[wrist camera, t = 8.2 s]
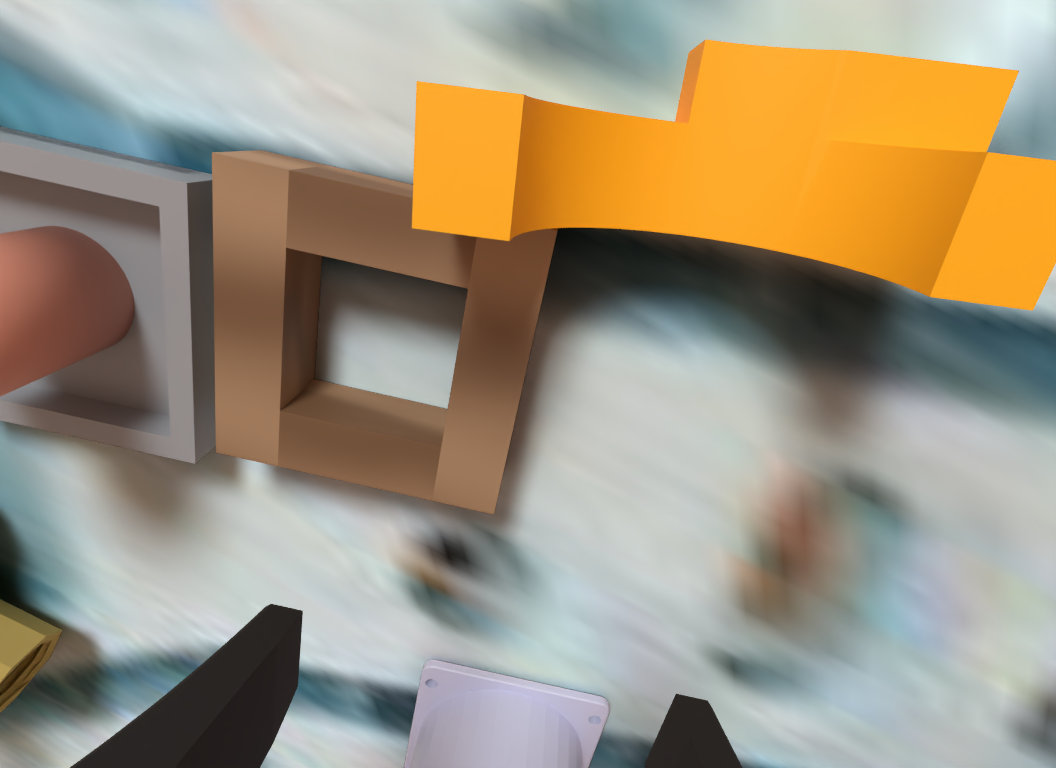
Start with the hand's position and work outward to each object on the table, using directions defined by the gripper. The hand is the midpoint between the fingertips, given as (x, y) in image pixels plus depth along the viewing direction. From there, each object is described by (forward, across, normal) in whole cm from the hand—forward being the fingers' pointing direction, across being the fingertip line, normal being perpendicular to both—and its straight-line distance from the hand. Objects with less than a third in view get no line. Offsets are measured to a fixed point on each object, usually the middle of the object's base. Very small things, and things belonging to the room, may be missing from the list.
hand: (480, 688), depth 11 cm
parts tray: (+10, +15, -2) cm, 18 cm away
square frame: (+10, +5, -3) cm, 11 cm away
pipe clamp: (+10, -2, -10) cm, 15 cm away
